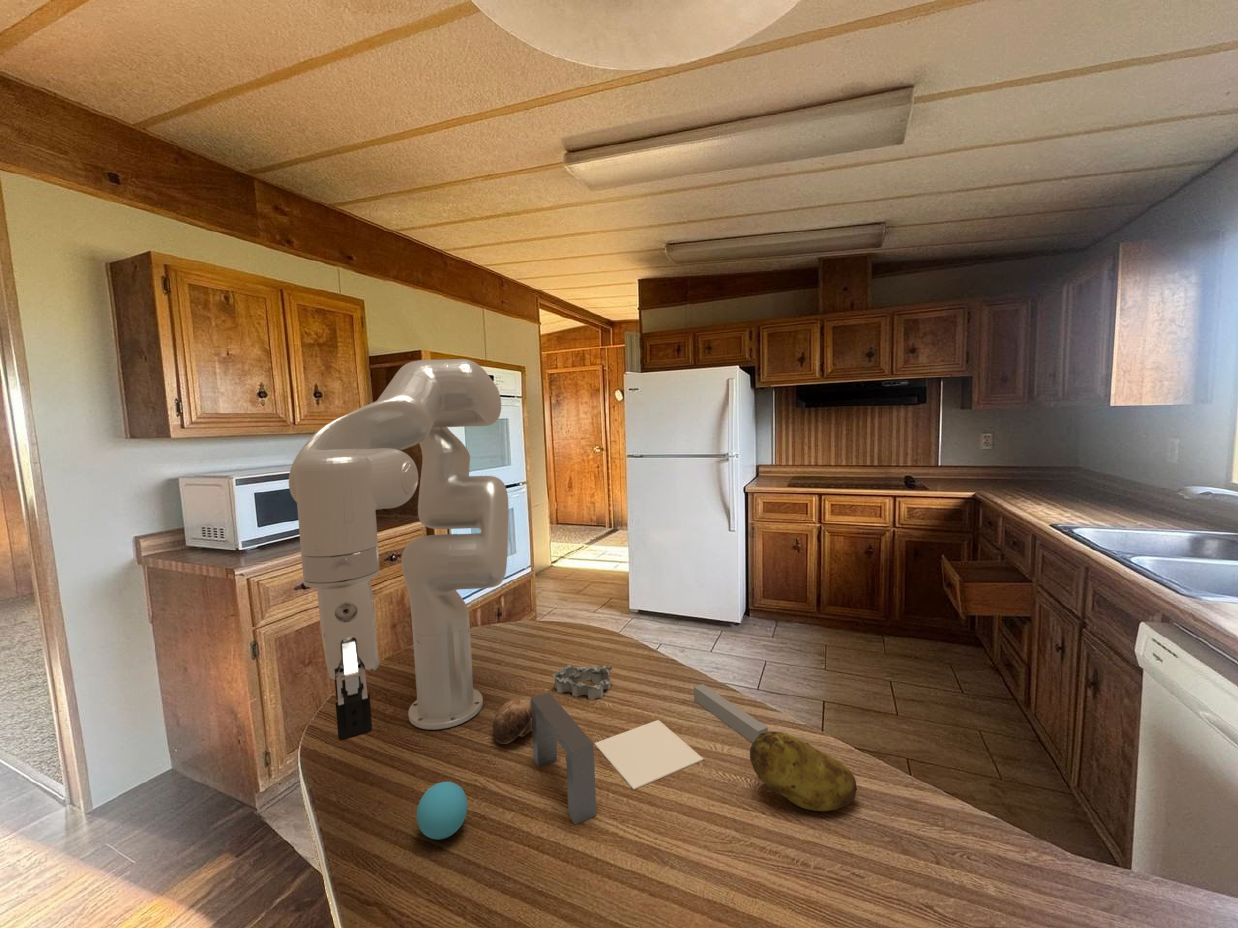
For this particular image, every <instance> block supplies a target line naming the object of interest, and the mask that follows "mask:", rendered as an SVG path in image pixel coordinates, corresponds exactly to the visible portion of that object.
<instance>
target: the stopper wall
mask: <svg viewBox="0 0 1238 928" xmlns="http://www.w3.org/2000/svg"><path fill="white" fill-rule="evenodd" d="M693 700H694V701H695V702H696V703H697V704H698V705H700V706H701V707H703V708H704V709H705V710H707V711H708V712H709V713H711V714H712V715H714V716H715V717H716V718H718V719H719V720H720V721H722V722H723V723H725V724H726V725H727V726H728V727H730V728H731V729H733V730H734V731H735V732H737V733H738V734H740V735H741V736H742V737H744V738H745V739H747V740H748V741H749V742H751V744H753V742H754V740H755V739H756V738H757V737H758V736H759V735H760V734H761V733H767V732H769V729H768V728H769V727H768V726H767V725H765V724H764V723H762V722H761V721H759V720H758V719H756V718H754V717H753V716H751V715H750V714H748V713H747V712H745V711H744V710H743V709H741V708H740V707H738V706H736V705H735V704H734V703H732V702H731V701H729V700H727V699H726V698H724V697H723V696H722V695H720V694H719V693H717V692H716V691H715V690H713V689H711V688H710V687H708V686H707V685H705V684H703V683H702V684H698V685H696V686H694V687H693Z"/></svg>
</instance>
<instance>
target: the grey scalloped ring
mask: <svg viewBox="0 0 1238 928" xmlns="http://www.w3.org/2000/svg"><path fill="white" fill-rule="evenodd" d="M612 671H613V667H612V666H609V665H603V664H602V665H598V667H596V666H591V667H587V666H573V665H568V664H566V665H565V666H562V667H561V668H559V670H556V672H555V673H553V674H551V676H552V677H553V678H554V689H555V690H556V693H558V694H563V693H565V692H569V693H571V695H572V697H576V698H577V697H579V696H582V695H584V696H587V698H588V700H591V701H593V700H596V699H602V697H604V690H605V691H606V690H609V689H611V688H612V687H611V686H612V685H611V676H610V675H611V673H612ZM586 681H592V684H595V685H588V684H587V683H583V682H586Z"/></svg>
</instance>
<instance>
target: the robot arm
mask: <svg viewBox="0 0 1238 928" xmlns="http://www.w3.org/2000/svg"><path fill="white" fill-rule="evenodd" d="M501 412H502V399H501V394H500V391H499V388H498V386H497V385H496V384H495V382H494V381H493V379H492V378H491V377H490V375H489V374H488V372H487V371H486V370H485V369H484V367H481V365H480V364H478V363H477V362H475V361H473V360H470V359H467V358H466V359H464V358H457V359H456V358H455V359H453V358H452V359H422V360H419V359H418V360H413V361H410V362H408V363H405V364H404V365H402V366H401V367H400V369H398V371H397V372H396V373H395V375H394V376H393V378H392V379H391V380H390V382H389V383H388V384H387V386H386V388H385V389H384V390H383V392H382V393H381V394H380V395H379V397H378V398H377V400H376V401H373V402H371V403H368V404H366V405H364V406H361V407H359V408H356V409H355V410H352V411H351V412H349V413H347V414H344V415H342V416H340V417H337V418H336V419H333V420H331V421H330V422H328V423H326V424H325V425H323V426H322V427H320V428H319V429H318V430H317V431H315V432H314V433H313V434H312V436H311V437H310V438H309V439H308V441H307V442H306V443H305V444H304V445H303V446H302V447H301V449H300V450H299V452H298V453H297V455H296V457H295V458H294V460H293V462H292V465H291V467H290V470H289V474H288V489H289V492H290V496H291V497H292V499H293V500H294V501H295V502H296V506H297V507H296V508H297V520H298V531H299V532H298V533H299V544H300V545H299V546H300V554H301V557H300V558H301V567H302V568H301V569H302V579H303V580H302V581H303V586H304V587H308V588H311V589H312V588H313V589H317V590H316V591H317V601H318V611H319V622H320V623H319V624H320V632H321V641H322V646H323V652H324V656H325V657H324V658H325V662H326V668H327V672H328V676H329V678H330V679H332V680H334V687H335V698H336V702H335V711H336V712H335V713H336V727H337V737H338V740H339V741H345V740H349V739H352V738H355V737H359V736H362V735H367V734H369V733H371V732H372V730H373V722H372V706H371V696H370V695H371V694H370V693H368V689H367V687H368V686H367V676H366V675H367V674H366V670H367V671H370V670H373V672H374V671H376V670H377V669H379V666H380V663H379V662H380V661H379V651H378V640H377V639H378V638H377V629H376V628H377V627H376V617H375V615H376V613H375V604H374V596H373V588H372V583H371V582H372V581H371V580H373V579H374V578H376V577H379V576H378V575H380V574H381V571H380V569H381V568H380V556H379V555H380V554H379V542H378V527H377V514H376V510H383V509H385V510H386V509H387V510H388V509H394V508H398V507H400V506H403V505H404V504H406V503H407V502H408V501H409V500H410V499H412V497H413V496H414V494H415V492H416V490H417V487H418V484H419V490H418V499H417V500H418V502H417V513H418V514H417V515H418V519H419V521H420V523H421V524H422V526H424V527H426V528H429V529H434V530H454V529H455V530H456V529H457V530H459V529H462V530H463V529H479V530H480V533H477V532H476V533H445V534H444V533H443V534H431V535H430V534H429V535H425V536H420V537H419V536H418V537H417V538H415V539H413V540H411V541H410V542H409V543H408V544H407V545H406V546H405V547H404V550H403V552H402V555H401V569H402V574H403V578H404V582H405V585H406V591H407V593H408V599H409V606H410V615H411V627H412V628H411V629H412V641H413V642H412V643H413V656H414V657H413V658H414V669H415V671H414V673H415V674H414V675H415V686H416V689H415V690H416V699H415V701H414V702H413V703H412V704H411V705H410V706H409V708H408V712H407V713H408V720H409V722H410V724H411V725H413V726H414V727H416V728H419V729H421V730H422V729H423V730H433V731H434V730H444V729H449V728H453V727H456V726H458V725H462V724H464V723H465V722H467V721H470V720H471V719H472V718H474V717H475V716H477V714H479V713H480V711H481V710H482V708H483V706H484V705H483V704H484V699H483V694H482V693H481V692H480V691H479V690H478V689H475V688H474V681H473V663H472V647H471V646H472V644H471V630H470V629H471V628H470V613H469V608H468V606H467V604H466V602H465V600H464V598H462V596H461V595H460V594H459V592H458V591H457V590H477V589H479V590H480V589H489V588H495V587H498V586H499V585H500V584H502V582H503V581H504V579H505V577H506V572H507V567H508V543H509V542H508V540H509V539H508V538H509V513H510V512H509V509H510V508H509V495H508V491H507V487H506V484H505V483H504V481H503V480H502V479H500V477H497V476H493V475H471V476H470V466H471V464H470V462H471V454H470V452H469V450H468V449H467V447H466V446H465V444H464V443H463V442H462V441H461V439H460V438H458V437H457V435H455V434H454V433H453V432H452V431H451V430H450V429H449V428H460V427H461V428H463V427H488V426H492V425H494V424H495V423H496V422H497V421H498V419H499V418H500V415H501ZM418 444H419V447H420V449H421V454H422V455H421V456H422V463H421V464H422V465H421V473H420V481H419V472H418V469H417V465H416V463H415V460H413V458H412V457H411V456H410V455H409V454H408V453H406V452H404V451H403V450H406V449H409V448H411V447H414V446H416V445H418Z"/></svg>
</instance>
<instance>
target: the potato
mask: <svg viewBox="0 0 1238 928" xmlns="http://www.w3.org/2000/svg"><path fill="white" fill-rule="evenodd" d="M749 759H750V763H751V765H752V768H753V771H754V772H755V773H756V776H757V777H758V780H759V779H760V781H762V782H763V783H764V784H765V785H766V786H767V787H768V788H769V789H770V790H771V791H773V792H775V793H776V794H778V795H780V796H782V797H784V798H786V799H787V800H788V801H790V802H791V803H792V804H794V805H795V806H797V807H800V808H802V809H805V810H808V811H815V812H830V811H831V812H832V811H836V810H838V809H841V808H843V807H847V806H848V805H849V804H851V803H852V802H853V801H854V800H855V797H856V794H857V789H858V788H857V780H856V778H855V776H854V774H853V772H852V771H851V770H850V769H849V767H847V766H846V765H844V764H843V763H842V762H840V761H838V760H837V759H836V758H834V757H832V756H830V755H828V754H827V753H825V752H822V751H820V750H819V749H818V748H816V747H814V746H812V745H810V743H808V742H805V741H803V740H801V739H799V738H797V737H795V736H793V735H791V734H789V733H786V732H782V731H773V730H771V731H768V732H767V733H761V734H760V735H759V736H758V737H757V738H756V739H755V740H754V742H753V743H751V746H750V749H749Z"/></svg>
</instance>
